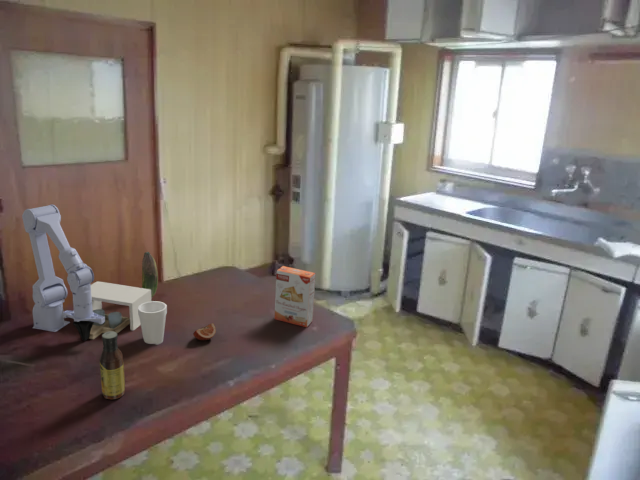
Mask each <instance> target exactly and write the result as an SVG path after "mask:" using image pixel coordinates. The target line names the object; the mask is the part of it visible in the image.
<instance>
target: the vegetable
mask: <svg viewBox="0 0 640 480" xmlns="http://www.w3.org/2000/svg"><path fill="white" fill-rule="evenodd" d="M141 262H142V263H141V288H144V289H151V299H153V297H154V296H156V293H157V291H158V290H157V289H158V283H159V281H158V280H159V275H158V274H159V273H158V268H157V263H156V260H155V258H154V256H153V255H152V254H151V253H150V251H146V252H144V253H143V257H142V261H141Z"/></svg>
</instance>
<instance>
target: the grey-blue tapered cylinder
mask: <svg viewBox="0 0 640 480" xmlns="http://www.w3.org/2000/svg"><path fill="white" fill-rule="evenodd" d="M108 314H109V315H108V318H109V327H110V328H112V329H114V328H116V327H117V326H118V325H120V324H121V323H122V317H123V315H122V312H120V311H113V312H110V313H108Z"/></svg>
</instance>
